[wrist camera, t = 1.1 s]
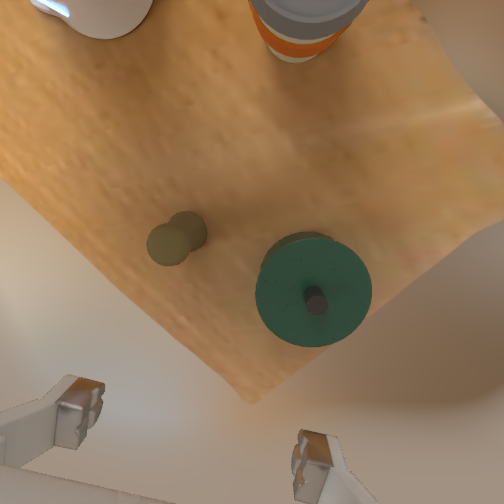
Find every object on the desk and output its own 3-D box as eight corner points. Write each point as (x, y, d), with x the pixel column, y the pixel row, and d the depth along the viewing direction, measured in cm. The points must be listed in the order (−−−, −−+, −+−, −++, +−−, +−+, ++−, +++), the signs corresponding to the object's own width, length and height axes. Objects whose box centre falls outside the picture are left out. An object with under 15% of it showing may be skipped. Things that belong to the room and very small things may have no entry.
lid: (232, 289, 43) (228, 302, 38) (317, 212, 40) (324, 216, 35) (307, 362, 45) (311, 383, 40) (392, 294, 42) (408, 308, 38)
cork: (170, 253, 48) (144, 275, 38) (163, 214, 47) (133, 225, 36) (209, 249, 48) (194, 270, 37) (203, 209, 47) (185, 219, 36)
